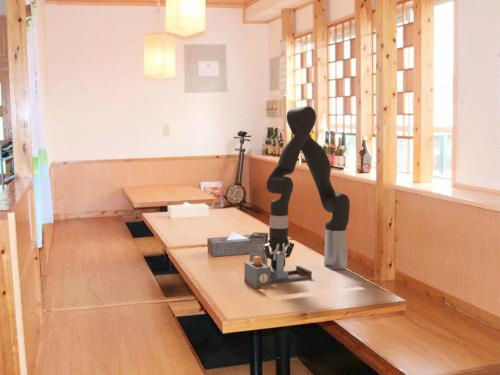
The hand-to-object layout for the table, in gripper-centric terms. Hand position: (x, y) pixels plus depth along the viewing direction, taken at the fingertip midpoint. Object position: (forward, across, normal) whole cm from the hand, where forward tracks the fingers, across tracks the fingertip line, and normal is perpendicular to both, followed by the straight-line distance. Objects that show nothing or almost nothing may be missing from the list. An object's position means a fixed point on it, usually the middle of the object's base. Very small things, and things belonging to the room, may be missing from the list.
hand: (277, 268), depth 259 cm
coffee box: (+6, -1, -19) cm, 20 cm away
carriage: (+4, 0, 0) cm, 4 cm away
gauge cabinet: (+4, +9, 0) cm, 10 cm away
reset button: (-2, +9, 0) cm, 10 cm away
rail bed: (+6, 0, 0) cm, 6 cm away
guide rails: (+4, -3, 0) cm, 5 cm away
